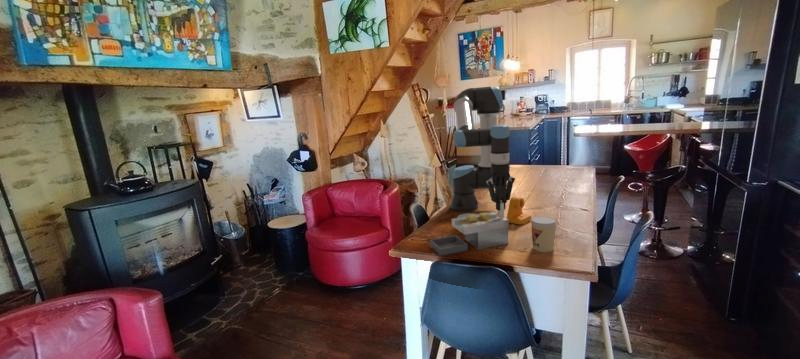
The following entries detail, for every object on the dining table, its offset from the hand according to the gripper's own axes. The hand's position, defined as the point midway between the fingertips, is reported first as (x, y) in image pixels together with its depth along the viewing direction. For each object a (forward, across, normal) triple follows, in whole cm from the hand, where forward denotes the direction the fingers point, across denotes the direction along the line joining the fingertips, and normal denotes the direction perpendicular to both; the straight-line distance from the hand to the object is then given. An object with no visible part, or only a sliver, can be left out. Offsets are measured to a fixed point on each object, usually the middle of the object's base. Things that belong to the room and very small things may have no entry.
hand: (500, 216), depth 160 cm
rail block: (+10, -10, 0) cm, 14 cm away
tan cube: (+1, -8, 0) cm, 8 cm away
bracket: (+10, +19, +15) cm, 27 cm away
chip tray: (+10, -25, 0) cm, 27 cm away
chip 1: (+1, -14, 0) cm, 14 cm away
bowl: (+10, -7, +16) cm, 20 cm away
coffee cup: (+10, +9, -16) cm, 21 cm away
